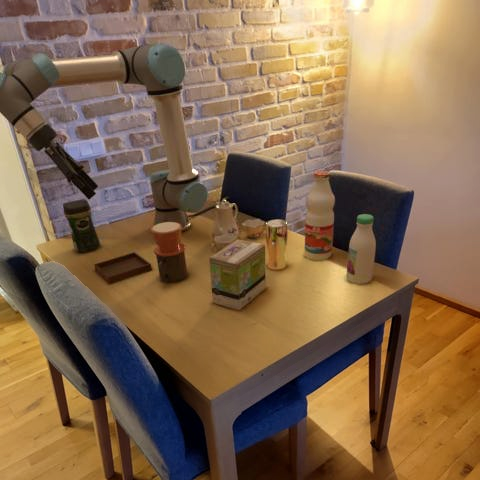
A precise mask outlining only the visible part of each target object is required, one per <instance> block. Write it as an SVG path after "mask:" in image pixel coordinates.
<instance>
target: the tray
mask: <svg viewBox="0 0 480 480" xmlns="http://www.w3.org/2000/svg"><path fill="white" fill-rule="evenodd" d="M151 263H152V262H149V261H148V260H147V259H145V258H144V257H143V256H141V255H140V254H138V253H137V252H136V251H133V252H129V253H126V254H124V255H120V256H117V257H114V258H110V259H107V260H103V261H101V262H97V263H94V264H93V266H94V270H95V272H97V274H98V275H100V277H102V278H103V279H104V280H105V281H106V282H107V283H108V284H109V285H112V284H114V283H117V282H120V281H124V280H126V279H129V278H132V277H135V276H138V275H141V274H144V273H147V272H150V271H152V269H153V268H152V264H151Z"/></svg>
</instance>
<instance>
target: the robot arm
mask: <svg viewBox="0 0 480 480" xmlns="http://www.w3.org/2000/svg"><path fill="white" fill-rule="evenodd" d="M186 71H187V68H186V63H185V60H184V56H183V55H182V54H181V52H180V51H179V50H178V49H177V48H176V47H174V46H173V45H170V44H166V43H154V44H153V43H152V44H143V45H138V46H133V47H129V48H125V49H120V50H112V52H111V54H101V55H100V54H99V55H89V56H75V57H59V58H49V57H48V56H47V54H45V53H42V52H38V53H37V54H35V55H34V56H31V58H30V59H28V60H20V61H18V60H11V61H10V62H7V63H6V64H5V65H4V67H3V69H2V71H0V114H1V115H2V116H3V117H4V118H5V119H6V121H8V122H9V123H10V125H12V127H14V129H16V130H15V132H16V134H17V135H19V134H20V135H21V136H22V137H23V138H24V139H28V140H27V141H28V143H29V144H30V146H31V147H32V148H33V149H34V150H35V151H36V152H41V151H44V153H45V154H46V155H47V156H48V158H49V159H50V160H51V161H52V162H53V164H55V166H56V167H57V168H58V170H59V171H60V172H61V173H62V174H63V176H64V177H65V178H66V182H67V183H68V184H70V183H72V184H73V185H74V186H75V187H76V188H77V189H78V190H79V191H80V192H81V194H83V195H84V196H85V198H86V199H87V200H91V199H92V198H93V197H94V196H95V195H97V192H95V190H96V189H97V188H98V187H99V185H98V184H97V183H96V182H95V181H94V180H93V179H92V178H91V176H90V175H89V174H88V173H87V172H86V171H85V169H84V168H85V166H84V165H83V164H80V163H79V162H78V161H77V160H76V159H74V158H73V156H71V155H70V153H69V152H67V151H66V149H64V148H63V146H62V145H61V144H60V143H59V142H57V141H56V142H55V141H54V140H55V139H56V138H57V137H58V132H56V130H55V129H54V128H53V127H52V126H51V125H50V123H49V124H48V123H46V119H45V118H44V117H43V116H42V115H41V113H40V112H39V111H38V110H37V109H36V108H35V107H34V106H33V105H32V104H31V103H33V102H34V101H35V100H36V99H37V98H39V97H40V96H41V95H42V94H44V93H45V92H46V91H47V90H49V89H56V88H65V87H75V86H85V85H96V84H103V83H114V82H116V83H118V84H119V85H127V84H128V85H138V86H145V87H146V92H147V96H148V97H149V98H150V99H151V100H153V102H154V107H155V112H156V117H157V121H158V126H159V130H160V135H161V139H162V142H163V148H164V151H165V156H166V161H167V165H168V169H164V170H159V171H155V172H153V173H151V174H150V176H149V180H150V188H151V193H152V198H153V205H154V219H153V226H154V225H157V224H160V223H165V222H176V223H179V224H181V225H182V230H181V233H183V232H186V231H188V230H189V229H190V228H191V227H192V226H191V220H190V218H192V217H196V216H199V215H200V214H203V213H204V212H206V211H209V210H211V209H213V208H216V205H218V204H220V203H221V202H219V203H217V204H214V205H212V206H209V207H206V208H204V206H205V204H206V203H207V201H208V194H209V191H208V188H207V186H206V185H205V184H204V183H203V182H202V181H201V179H200V175H199V171H198V170H197V169H195V168H194V166H193V165H194V164H193V161H192V155H191V150H190V144H189V140H188V134H187V129H186V124H185V118H184V112H183V108H182V102H181V97H180V96H181V94H182V92H183V90H184V89H183V88H184V87H183V82H184V80H185V79H184V78H185V76H186V73H187V72H186ZM43 149H44V150H43ZM224 199H225V200H226V201H227V200H230V197H229V196H225V197H224ZM203 208H204V209H203ZM188 213H191V214H188ZM153 226H152V227H153Z"/></svg>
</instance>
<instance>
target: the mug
mask: <svg viewBox="0 0 480 480" xmlns="http://www.w3.org/2000/svg"><path fill="white" fill-rule="evenodd" d="M155 257H156V264H157V268H158V270H157V271H158V275H159V281H160V283H163V282H164V283H168V284H169V283H170V284H173V283H174V284H175V283H179V282H181V281H184V280H185V279H186V278H187V277H188V267H187V259H186V253H185V250H184V251H183V252H182V253H180V254H177V255H173V256H159V255H156V254H155Z"/></svg>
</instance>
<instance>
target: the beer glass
mask: <svg viewBox="0 0 480 480" xmlns="http://www.w3.org/2000/svg"><path fill="white" fill-rule="evenodd" d="M288 234H289V233H288V222H287V221H286V220H284V219H271V220H268V221H266V222H265V242H266V247H267V252H268V262H267V267H268V268H269V269H270V270H272V271H273V270H274V271H279V270H280V271H281V270H283V269H285V268H286V267H287V262H286V251H287V250H286V249H287V246H288V237H289V236H288Z"/></svg>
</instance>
